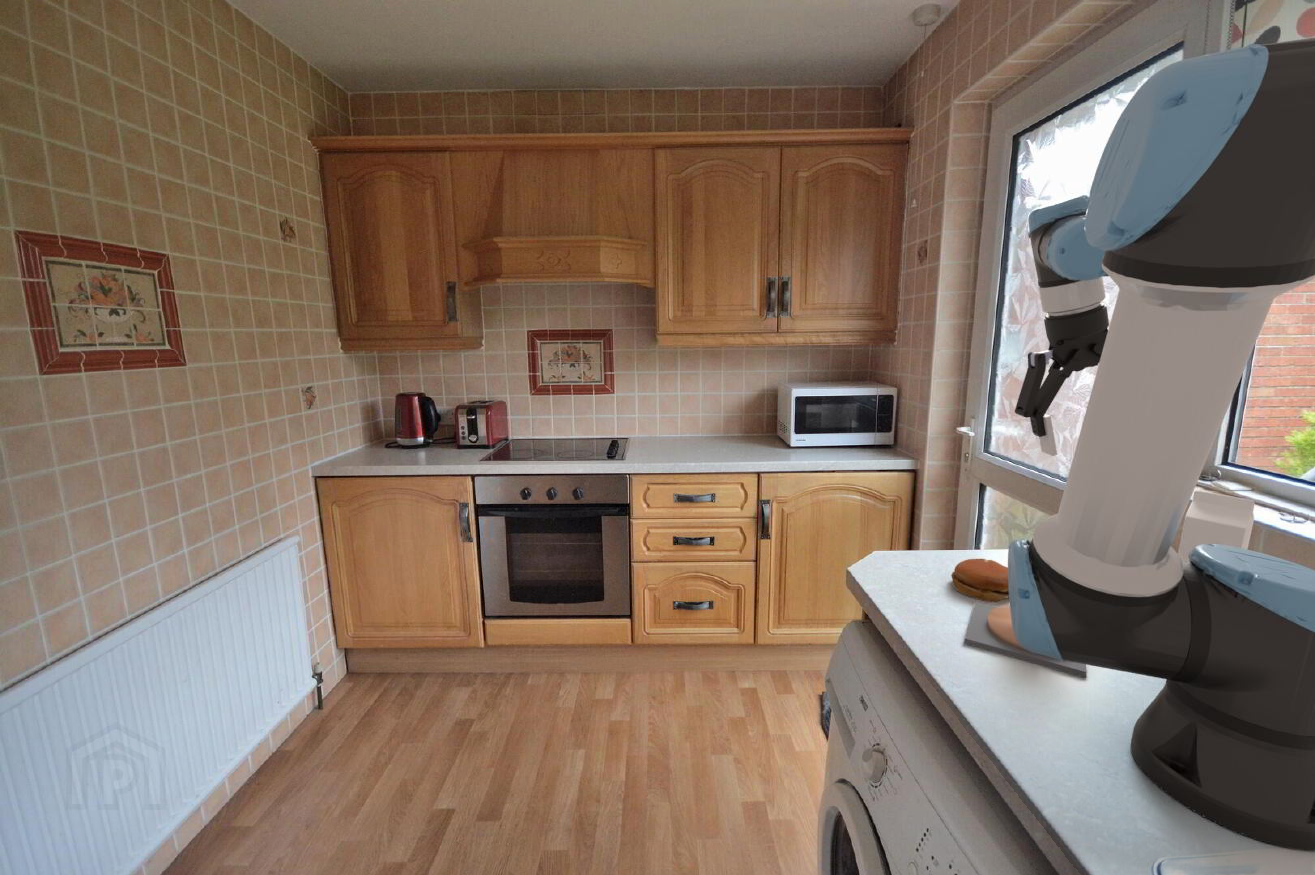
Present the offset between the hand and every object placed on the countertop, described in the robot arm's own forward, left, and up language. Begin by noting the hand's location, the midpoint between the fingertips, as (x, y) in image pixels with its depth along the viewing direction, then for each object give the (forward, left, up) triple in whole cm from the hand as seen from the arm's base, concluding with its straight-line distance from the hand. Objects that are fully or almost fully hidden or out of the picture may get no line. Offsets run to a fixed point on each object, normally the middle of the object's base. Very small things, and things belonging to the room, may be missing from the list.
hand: (1094, 440), depth 88 cm
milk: (-6, -14, -27) cm, 31 cm away
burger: (-4, +12, -27) cm, 30 cm away
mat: (-18, +6, -27) cm, 33 cm away
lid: (-18, +5, -26) cm, 32 cm away
